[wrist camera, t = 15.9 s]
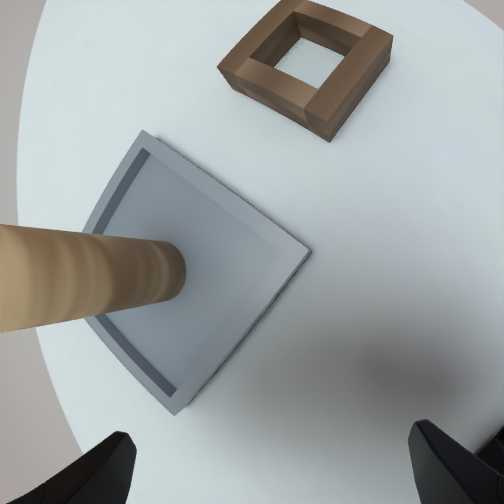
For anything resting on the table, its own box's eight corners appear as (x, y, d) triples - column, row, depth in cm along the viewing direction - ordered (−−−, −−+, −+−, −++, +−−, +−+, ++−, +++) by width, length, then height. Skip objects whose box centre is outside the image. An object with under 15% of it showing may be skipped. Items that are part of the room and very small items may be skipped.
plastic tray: (312, 250, 18) (309, 249, 16) (186, 405, 20) (174, 416, 18) (156, 137, 21) (142, 129, 19) (73, 282, 23) (58, 283, 21)
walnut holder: (389, 61, 16) (393, 35, 13) (329, 142, 17) (326, 122, 14) (295, 19, 18) (287, -6, 15) (232, 88, 19) (216, 66, 16)
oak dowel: (197, 266, 19) (-23, 272, 5) (165, 313, 20) (-34, 362, 6) (156, 229, 20) (-45, 198, 6) (128, 275, 20) (-60, 283, 7)
